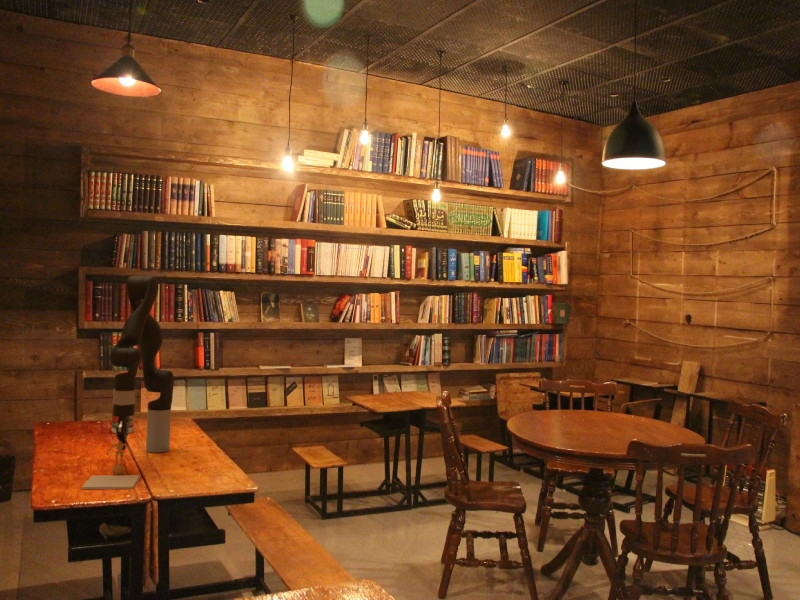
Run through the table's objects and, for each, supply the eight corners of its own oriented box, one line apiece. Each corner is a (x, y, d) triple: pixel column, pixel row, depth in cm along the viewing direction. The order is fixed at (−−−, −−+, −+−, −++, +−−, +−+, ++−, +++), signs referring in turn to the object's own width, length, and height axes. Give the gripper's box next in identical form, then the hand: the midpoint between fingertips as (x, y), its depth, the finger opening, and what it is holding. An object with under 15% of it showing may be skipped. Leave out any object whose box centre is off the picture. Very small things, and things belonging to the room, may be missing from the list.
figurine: (104, 477, 250) (106, 443, 250) (106, 473, 256) (108, 439, 256) (130, 476, 252) (131, 442, 252) (131, 472, 258) (132, 439, 258)
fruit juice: (136, 430, 335) (138, 371, 335) (128, 434, 325) (130, 373, 325) (116, 429, 335) (119, 370, 335) (107, 433, 326) (110, 372, 326)
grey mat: (92, 477, 249) (92, 475, 249) (140, 477, 252) (140, 475, 252) (81, 489, 234) (81, 487, 234) (132, 488, 237) (132, 486, 237)
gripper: (116, 399, 266) (114, 446, 266) (109, 405, 253) (107, 453, 253) (137, 400, 267) (135, 446, 267) (131, 405, 254) (129, 453, 254)
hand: (122, 449), depth 260 cm, fingers closed
